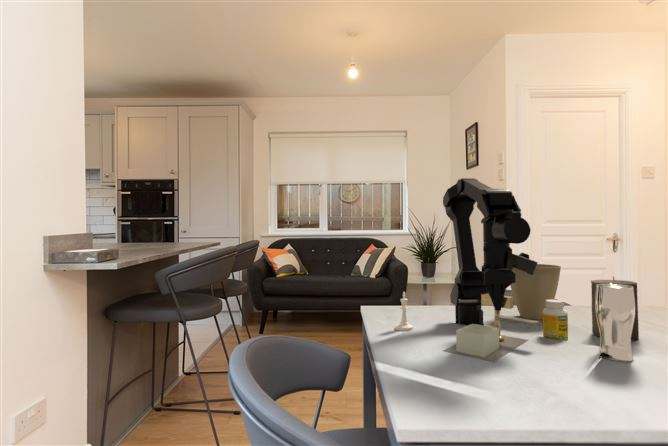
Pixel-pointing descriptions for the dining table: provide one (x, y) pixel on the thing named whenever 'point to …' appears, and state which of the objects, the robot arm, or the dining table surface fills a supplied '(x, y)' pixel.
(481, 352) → the cover
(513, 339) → the base
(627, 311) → the silver metal tumbler
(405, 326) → the chess piece
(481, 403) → the dining table surface
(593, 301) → the pillar candle
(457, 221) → the robot arm
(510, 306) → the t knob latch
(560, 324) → the supplement bottle
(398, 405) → the dining table surface
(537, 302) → the plant pot
